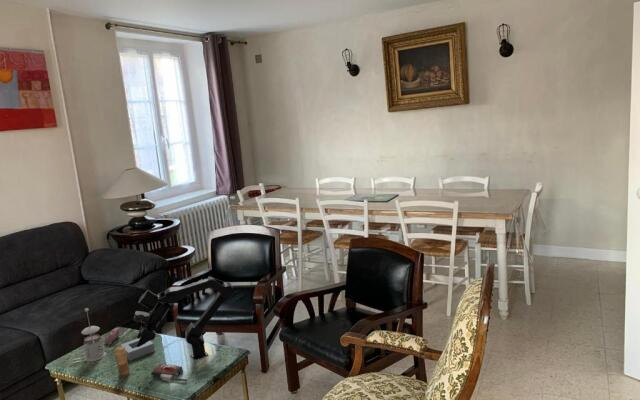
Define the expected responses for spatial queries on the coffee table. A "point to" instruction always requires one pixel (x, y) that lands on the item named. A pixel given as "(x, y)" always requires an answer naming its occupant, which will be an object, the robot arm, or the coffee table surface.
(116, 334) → the video game controller
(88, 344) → the french press
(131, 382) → the coffee table surface
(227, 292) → the robot arm
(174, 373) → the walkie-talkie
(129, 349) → the socket block
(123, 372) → the peg
